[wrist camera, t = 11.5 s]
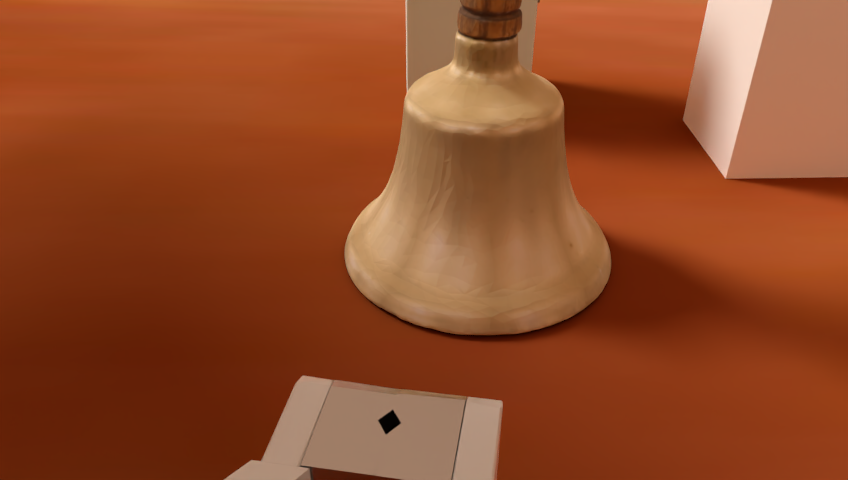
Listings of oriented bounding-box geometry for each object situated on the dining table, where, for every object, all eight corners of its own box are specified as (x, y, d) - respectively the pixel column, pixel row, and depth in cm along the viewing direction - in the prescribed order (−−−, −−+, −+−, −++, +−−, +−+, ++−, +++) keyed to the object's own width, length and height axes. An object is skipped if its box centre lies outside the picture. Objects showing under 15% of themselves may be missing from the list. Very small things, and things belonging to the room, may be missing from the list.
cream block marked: (725, 178, 28) (803, -120, 22) (682, 119, 32) (739, -144, 26) (867, 176, 28) (980, -120, 22) (806, 118, 32) (889, -144, 26)
